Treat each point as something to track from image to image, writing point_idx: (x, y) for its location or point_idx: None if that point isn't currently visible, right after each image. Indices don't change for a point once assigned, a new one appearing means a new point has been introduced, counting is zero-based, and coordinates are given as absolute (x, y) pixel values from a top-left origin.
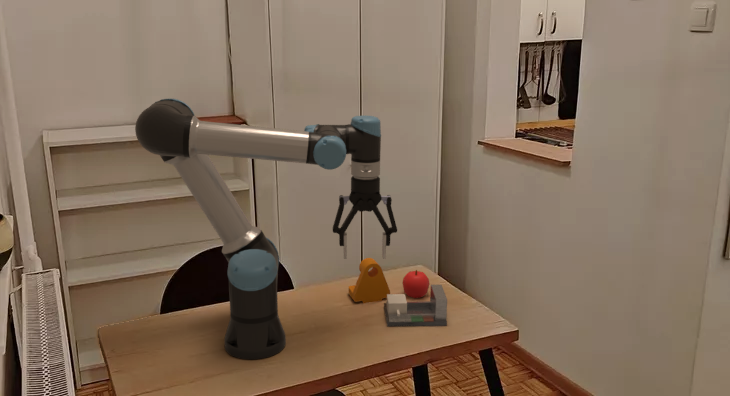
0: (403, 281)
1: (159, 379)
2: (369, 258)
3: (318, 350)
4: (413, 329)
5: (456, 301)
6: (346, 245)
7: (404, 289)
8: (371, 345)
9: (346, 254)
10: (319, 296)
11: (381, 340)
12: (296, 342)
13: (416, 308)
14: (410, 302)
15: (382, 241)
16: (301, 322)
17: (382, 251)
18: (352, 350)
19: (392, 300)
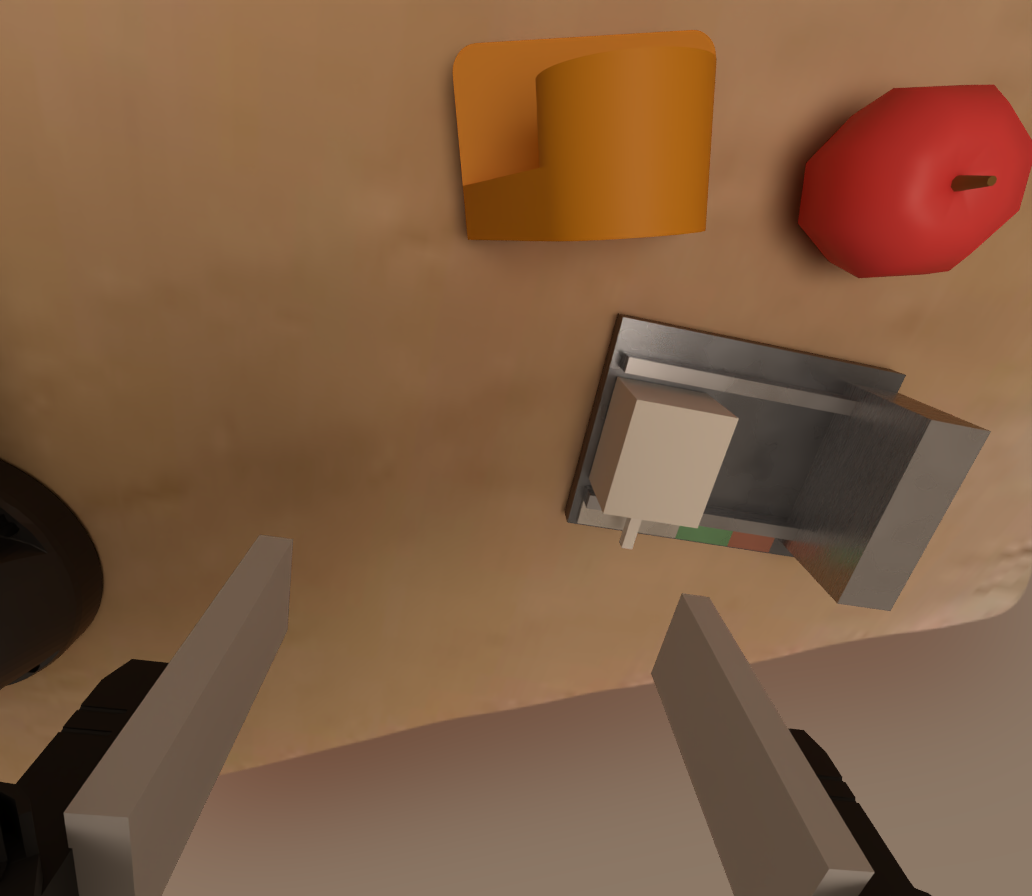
0: (840, 165)
1: None
2: (656, 71)
3: None
4: (662, 552)
5: (1004, 329)
6: (219, 770)
7: (812, 179)
8: (458, 633)
9: (268, 668)
10: (256, 48)
11: (506, 608)
12: (151, 567)
13: (758, 415)
14: (751, 392)
15: (747, 728)
16: (158, 395)
17: (688, 659)
18: (379, 653)
19: (636, 483)
